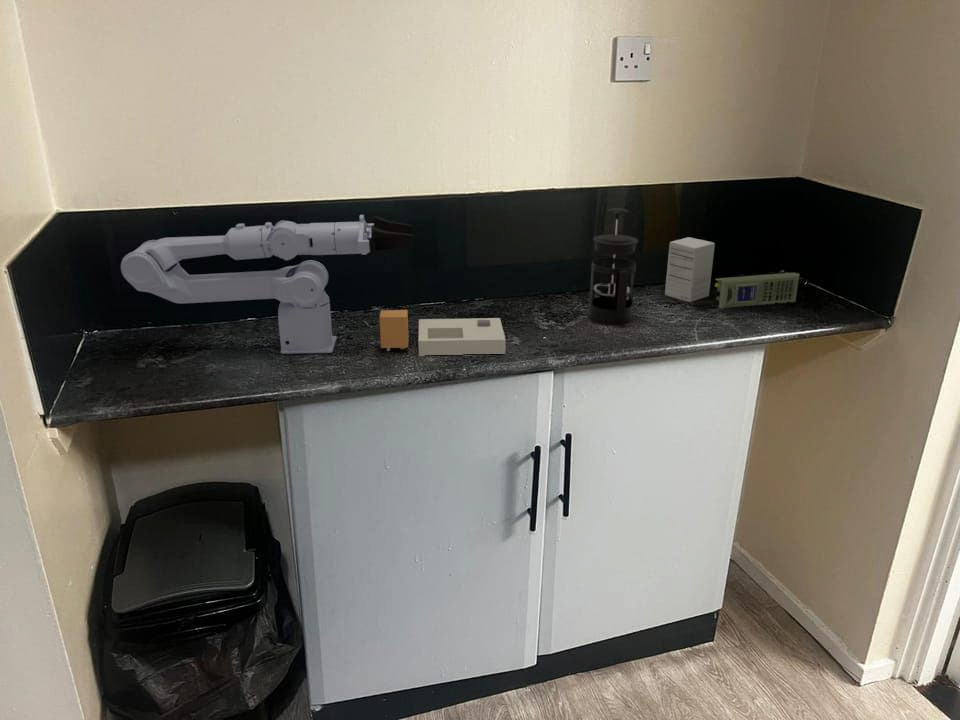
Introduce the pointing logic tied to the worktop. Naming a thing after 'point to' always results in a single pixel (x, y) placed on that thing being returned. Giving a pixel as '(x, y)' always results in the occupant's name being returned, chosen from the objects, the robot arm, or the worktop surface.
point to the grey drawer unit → (689, 269)
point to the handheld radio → (754, 290)
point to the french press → (612, 295)
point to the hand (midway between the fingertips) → (412, 236)
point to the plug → (394, 329)
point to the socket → (461, 336)
